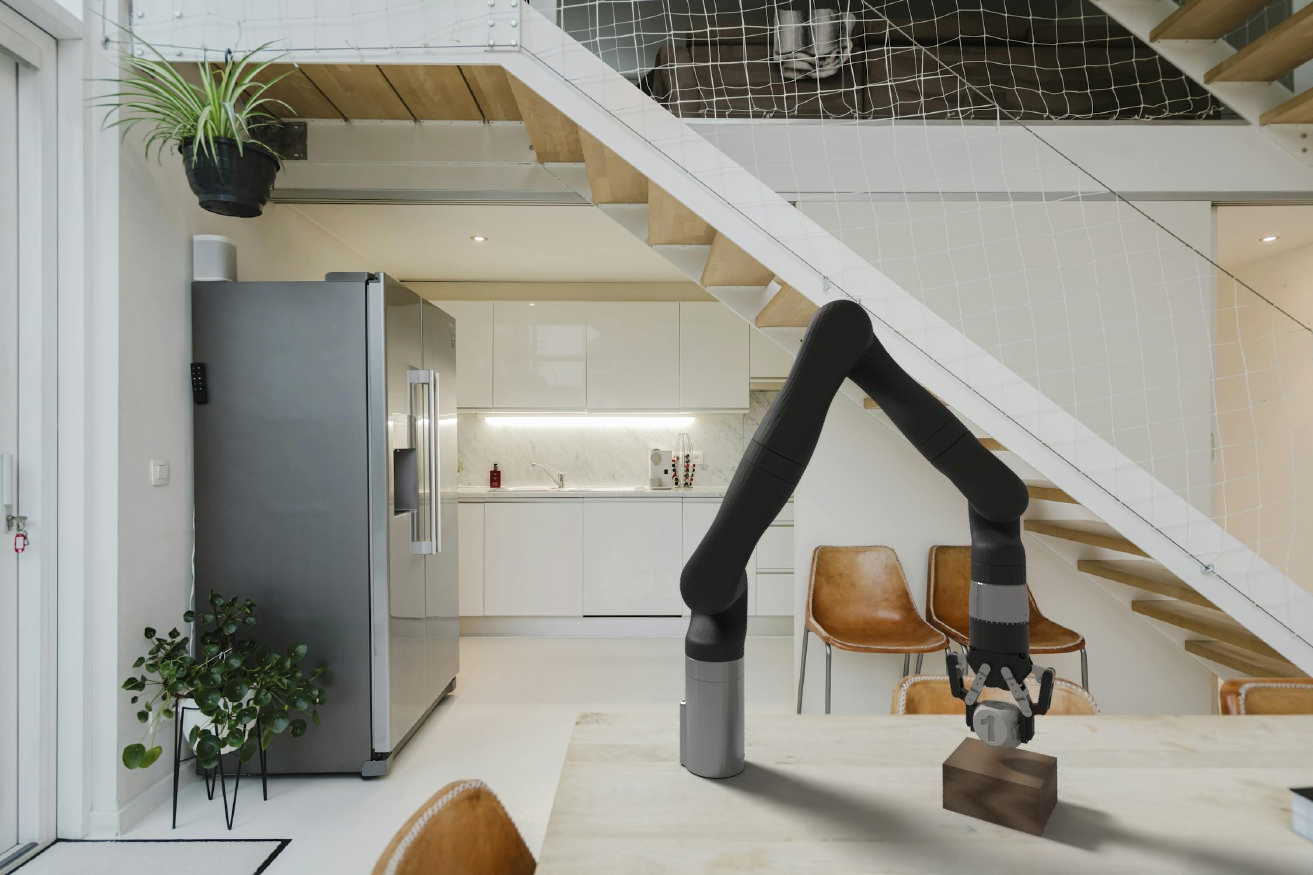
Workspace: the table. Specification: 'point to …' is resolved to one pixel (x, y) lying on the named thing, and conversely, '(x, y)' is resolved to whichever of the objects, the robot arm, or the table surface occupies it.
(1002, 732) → the die
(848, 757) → the table surface
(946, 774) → the pedestal
